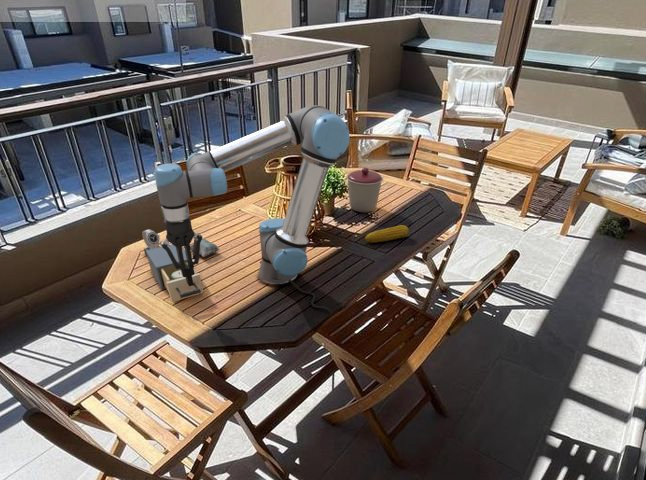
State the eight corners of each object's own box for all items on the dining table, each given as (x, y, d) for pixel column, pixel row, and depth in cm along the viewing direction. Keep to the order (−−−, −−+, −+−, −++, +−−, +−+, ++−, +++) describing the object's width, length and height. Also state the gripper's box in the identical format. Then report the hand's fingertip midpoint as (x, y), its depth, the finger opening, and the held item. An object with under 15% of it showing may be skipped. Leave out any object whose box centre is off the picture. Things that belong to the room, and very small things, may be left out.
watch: (153, 260, 182) (147, 236, 176) (143, 254, 186) (136, 230, 180) (166, 255, 186) (160, 231, 179) (155, 249, 190) (149, 225, 183)
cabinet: (195, 280, 171) (190, 258, 165) (161, 289, 165) (156, 267, 160) (183, 263, 181) (178, 242, 175) (151, 272, 175) (145, 250, 169)
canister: (381, 216, 222) (385, 174, 209) (345, 215, 222) (346, 173, 209) (379, 202, 237) (382, 162, 224) (345, 201, 236) (346, 161, 224)
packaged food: (203, 261, 182) (201, 250, 180) (186, 251, 189) (184, 241, 186) (221, 254, 188) (219, 243, 185) (204, 245, 194) (202, 234, 191)
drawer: (209, 300, 159) (205, 282, 154) (177, 310, 154) (172, 292, 149) (191, 275, 172) (187, 258, 167) (161, 284, 167) (156, 266, 162)
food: (402, 233, 208) (404, 222, 204) (409, 239, 203) (410, 227, 200) (362, 241, 200) (363, 229, 197) (368, 247, 196) (369, 234, 193)
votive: (193, 287, 164) (190, 272, 160) (178, 293, 160) (175, 278, 157) (185, 281, 167) (182, 266, 163) (171, 286, 164) (168, 272, 160)
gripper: (194, 209, 139) (205, 273, 154) (151, 217, 133) (167, 284, 148) (202, 218, 134) (213, 283, 149) (158, 227, 129) (173, 294, 143)
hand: (190, 283), depth 148 cm, fingers closed
